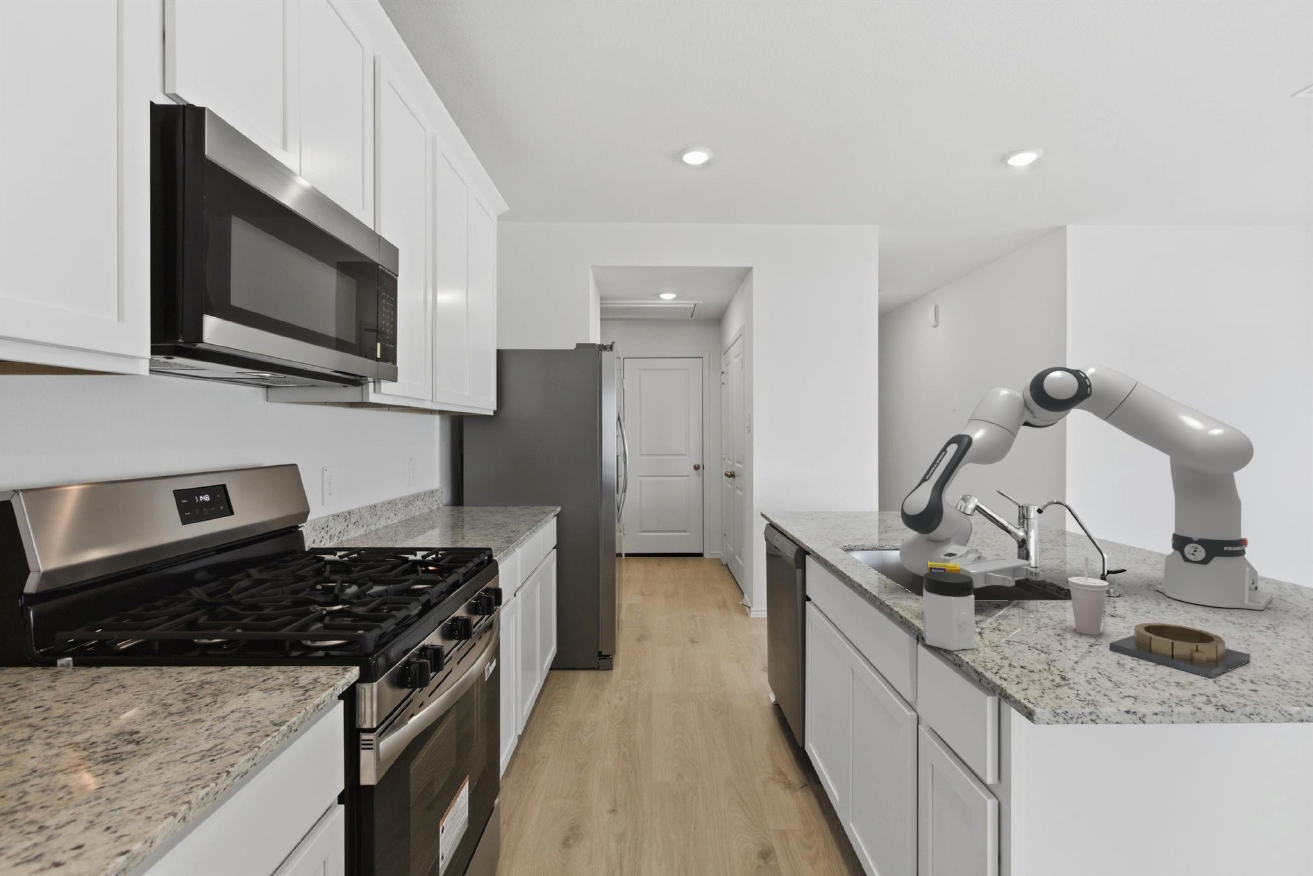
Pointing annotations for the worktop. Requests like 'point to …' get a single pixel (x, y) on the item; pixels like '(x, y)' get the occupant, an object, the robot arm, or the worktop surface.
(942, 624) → the jar
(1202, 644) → the socket
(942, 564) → the supplement box
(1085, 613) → the smoothie
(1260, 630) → the worktop surface
